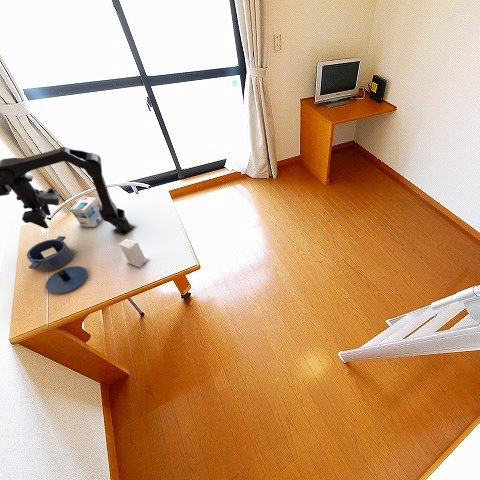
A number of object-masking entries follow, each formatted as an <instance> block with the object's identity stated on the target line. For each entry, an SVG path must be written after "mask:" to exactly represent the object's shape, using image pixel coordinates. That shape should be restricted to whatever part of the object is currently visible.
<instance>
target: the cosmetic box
mask: <svg viewBox="0 0 480 480" xmlns="http://www.w3.org/2000/svg"><path fill="white" fill-rule="evenodd" d="M118 246H119V248H120V250H121V252H122V253H123V255H124V257H125V258H126V260H127V262H128V264H130V265H133V266H136V267H138V268H141V267H142V266H143V265H144V264H146V263H147V258H146V257H145V254H144V253H143V251H142V249H141V247H140V245H139V243H138V242H137V241H135V240H132V239H129V238H125V239H124V240H123V241H121V242H120V243H119V244H118Z"/></svg>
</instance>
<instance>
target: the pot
mask: <svg viewBox="0 0 480 480" xmlns="http://www.w3.org/2000/svg"><path fill="white" fill-rule="evenodd" d="M65 239H66V236H64V235H63V236H62V235H59V236H57V237H56V238H52V239H46V240H43V241H41V242H38V243H37V244H35V245H33V246H31V248H29V250H28V251H27V253H26V258H27V260H28V261H29V262H30V263H31V264H30V265H29V266H28V269H31V270H39V271H42V272H51V271H55V270H58V269H61V268H63V267H64V266H66V265H68V264H69V263H70V262H71V260H73V257H74V253H73V251H72V249H70V247H69V245H67V243H66V242H65V241H64V240H65ZM52 247H54V249H55V250H56V251H57V252H58V253H57V254H56V255H54V256H52V257H49V258H47V259H45V258H44V257H43V255H42V253H41V252H43V251H45V250H48V249H50V248H52Z"/></svg>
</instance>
